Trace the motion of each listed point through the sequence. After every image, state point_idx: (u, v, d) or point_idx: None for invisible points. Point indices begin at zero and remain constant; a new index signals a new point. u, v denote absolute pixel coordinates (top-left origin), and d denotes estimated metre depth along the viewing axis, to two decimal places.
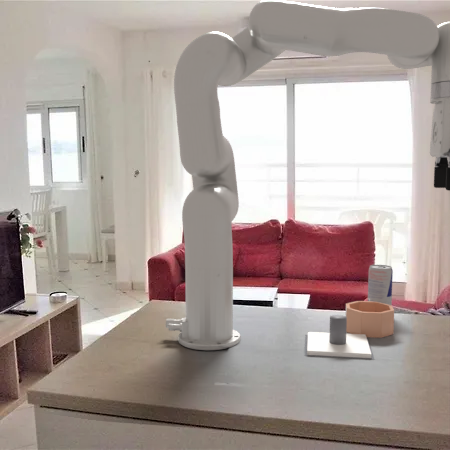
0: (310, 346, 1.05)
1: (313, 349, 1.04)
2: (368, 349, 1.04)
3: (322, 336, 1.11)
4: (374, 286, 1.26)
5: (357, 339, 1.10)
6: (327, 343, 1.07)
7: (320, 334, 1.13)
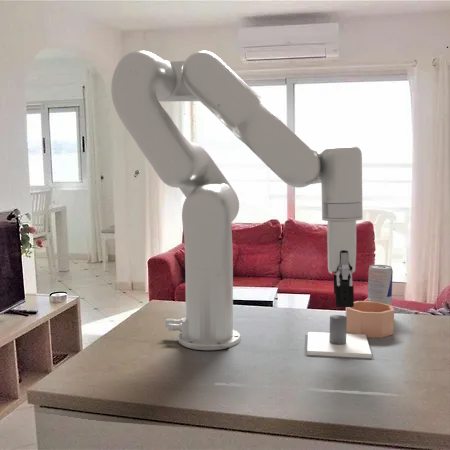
0: (310, 346, 1.05)
1: (313, 349, 1.04)
2: (368, 349, 1.04)
3: (322, 336, 1.11)
4: (374, 286, 1.26)
5: (357, 339, 1.10)
6: (327, 343, 1.07)
7: (320, 334, 1.13)
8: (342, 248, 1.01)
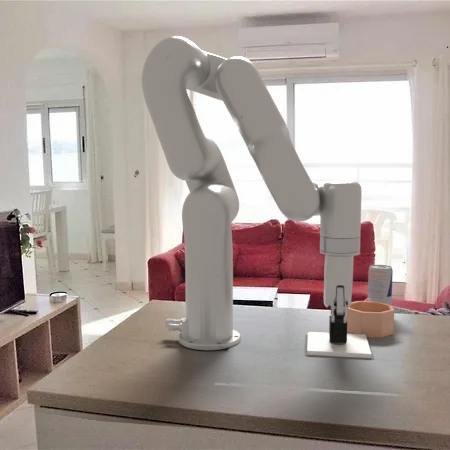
0: (310, 346, 1.05)
1: (313, 349, 1.04)
2: (368, 349, 1.04)
3: (322, 336, 1.11)
4: (374, 286, 1.26)
5: (357, 339, 1.10)
6: (327, 343, 1.07)
7: (320, 334, 1.13)
8: (338, 283, 1.01)
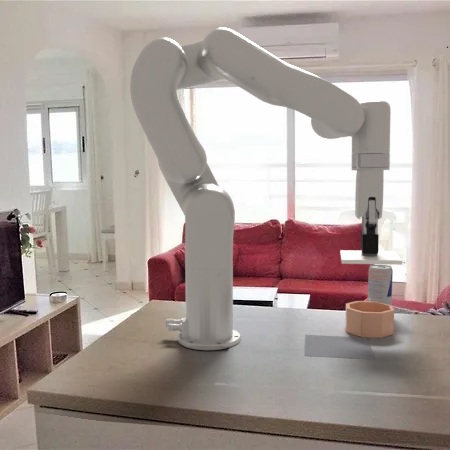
0: (344, 257, 1.12)
1: (347, 258, 1.11)
2: (399, 258, 1.11)
3: (354, 252, 1.18)
4: (374, 286, 1.26)
5: (387, 253, 1.17)
6: (360, 255, 1.14)
7: (352, 251, 1.20)
8: (370, 195, 1.09)
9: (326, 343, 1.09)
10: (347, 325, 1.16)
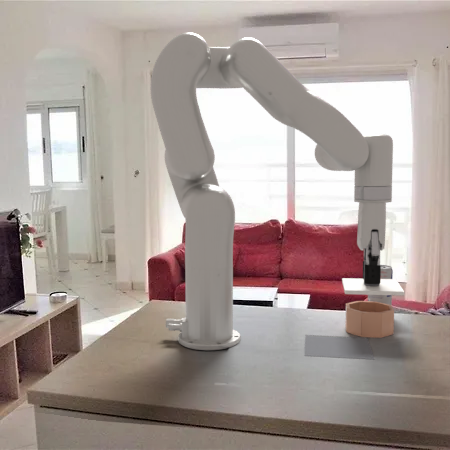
0: (347, 287, 1.14)
1: (350, 289, 1.13)
2: (401, 288, 1.13)
3: (356, 280, 1.21)
4: None
5: (389, 282, 1.19)
6: (362, 285, 1.16)
7: (354, 279, 1.22)
8: (373, 227, 1.11)
9: (326, 343, 1.09)
10: (347, 325, 1.16)
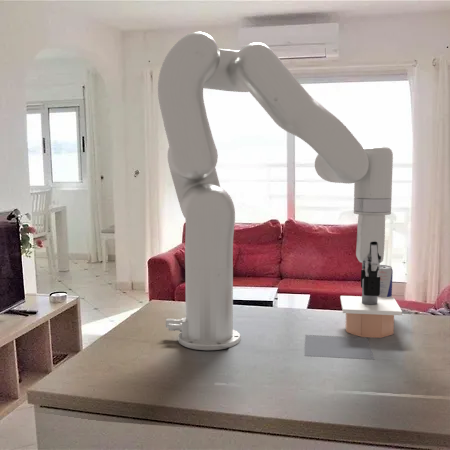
0: (345, 306, 1.15)
1: (348, 308, 1.13)
2: (398, 308, 1.13)
3: (354, 298, 1.21)
4: None
5: (387, 301, 1.19)
6: (360, 303, 1.17)
7: (352, 297, 1.22)
8: (372, 239, 1.11)
9: (326, 343, 1.09)
10: (347, 325, 1.16)
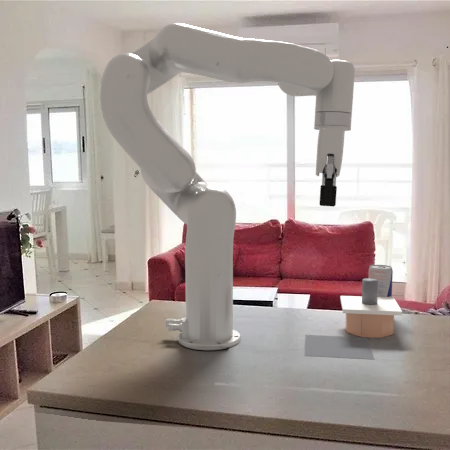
0: (345, 306, 1.15)
1: (348, 308, 1.13)
2: (398, 308, 1.13)
3: (354, 298, 1.21)
4: None
5: (387, 301, 1.19)
6: (360, 303, 1.17)
7: (352, 297, 1.22)
8: (329, 151, 1.11)
9: (326, 343, 1.09)
10: (347, 325, 1.16)
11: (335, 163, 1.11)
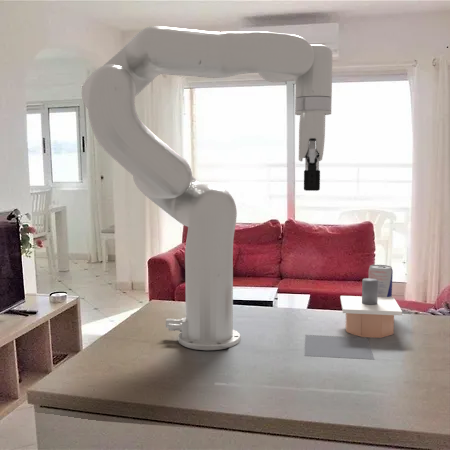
0: (345, 306, 1.15)
1: (348, 308, 1.13)
2: (398, 308, 1.13)
3: (354, 298, 1.21)
4: None
5: (387, 301, 1.19)
6: (360, 303, 1.17)
7: (352, 297, 1.22)
8: (311, 136, 1.11)
9: (326, 343, 1.09)
10: (347, 325, 1.16)
11: (317, 147, 1.11)
